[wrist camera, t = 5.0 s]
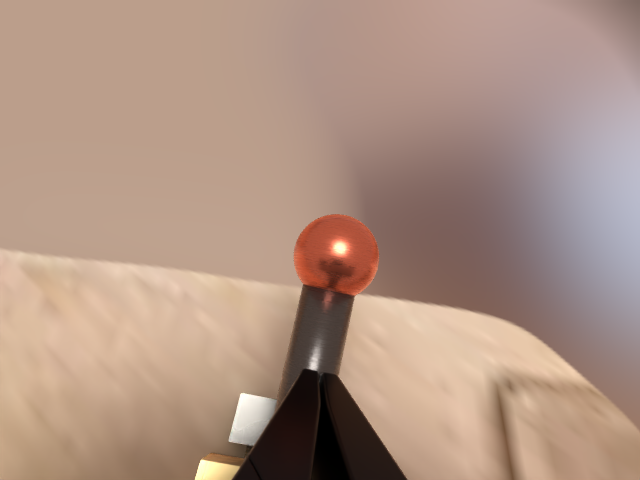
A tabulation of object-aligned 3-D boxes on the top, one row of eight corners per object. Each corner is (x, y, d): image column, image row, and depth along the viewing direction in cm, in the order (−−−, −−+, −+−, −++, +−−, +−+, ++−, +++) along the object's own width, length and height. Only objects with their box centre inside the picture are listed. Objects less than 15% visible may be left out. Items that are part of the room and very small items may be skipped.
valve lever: (290, 769, 7) (399, 218, 9) (175, 757, 7) (307, 196, 9) (289, 640, 10) (373, 230, 12) (204, 629, 10) (302, 213, 11)
